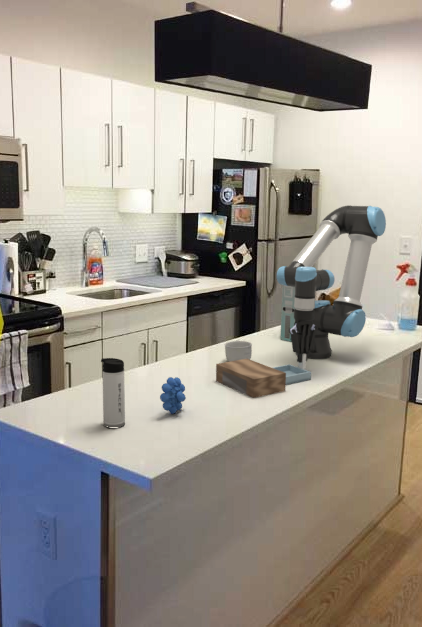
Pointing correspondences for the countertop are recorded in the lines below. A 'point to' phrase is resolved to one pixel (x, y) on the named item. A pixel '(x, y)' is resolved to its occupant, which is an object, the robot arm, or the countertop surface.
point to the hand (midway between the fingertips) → (301, 370)
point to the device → (287, 312)
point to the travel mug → (113, 392)
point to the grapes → (172, 395)
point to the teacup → (238, 350)
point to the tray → (294, 373)
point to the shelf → (250, 377)
